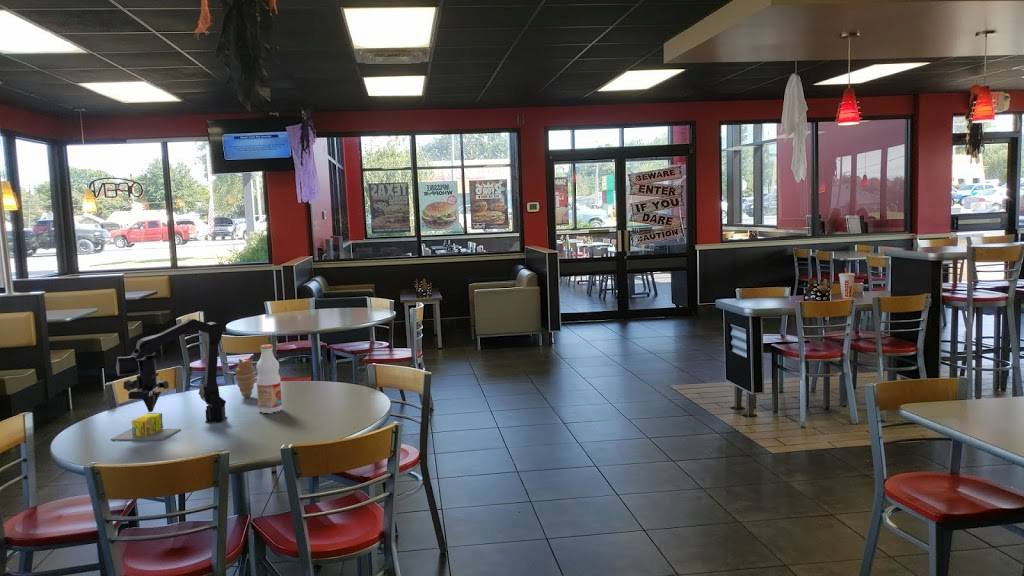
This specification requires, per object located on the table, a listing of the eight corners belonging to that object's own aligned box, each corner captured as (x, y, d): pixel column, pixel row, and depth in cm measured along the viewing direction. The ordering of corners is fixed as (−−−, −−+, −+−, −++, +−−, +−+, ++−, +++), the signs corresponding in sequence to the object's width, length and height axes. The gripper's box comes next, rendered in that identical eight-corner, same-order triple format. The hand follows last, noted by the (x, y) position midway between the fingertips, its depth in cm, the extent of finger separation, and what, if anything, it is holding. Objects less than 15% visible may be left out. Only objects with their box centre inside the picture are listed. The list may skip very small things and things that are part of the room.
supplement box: (163, 427, 294) (147, 436, 284) (149, 427, 295) (132, 436, 284) (162, 412, 294) (146, 421, 283) (148, 412, 294) (130, 420, 284)
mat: (180, 430, 293) (180, 428, 293) (163, 440, 280) (163, 439, 280) (130, 430, 294) (130, 428, 294) (110, 440, 281) (110, 439, 281)
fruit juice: (257, 410, 321) (253, 344, 318) (280, 407, 325) (276, 342, 322) (260, 415, 312) (256, 348, 309) (283, 412, 316) (280, 345, 313)
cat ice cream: (252, 394, 348) (250, 355, 347) (260, 397, 343) (257, 358, 341) (233, 398, 342) (231, 358, 341) (241, 401, 337) (238, 361, 335)
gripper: (140, 366, 298) (143, 405, 300) (112, 377, 280) (116, 418, 281) (168, 366, 298) (170, 405, 299) (142, 377, 279) (145, 418, 281)
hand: (150, 411), depth 290 cm, fingers closed
